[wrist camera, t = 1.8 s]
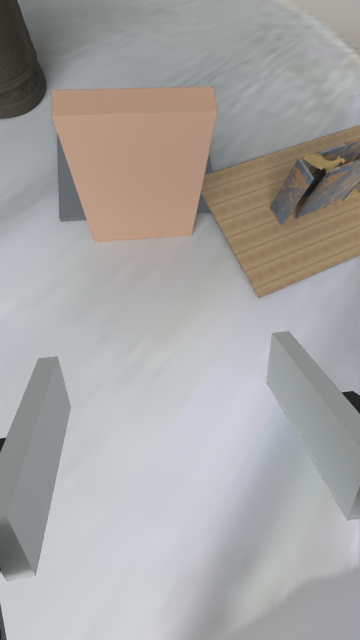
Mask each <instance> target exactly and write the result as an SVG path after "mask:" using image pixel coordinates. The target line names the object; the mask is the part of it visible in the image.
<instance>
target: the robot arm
mask: <svg viewBox="0 0 360 640" xmlns="http://www.w3.org/2000/svg"><path fill="white" fill-rule="evenodd" d="M267 384H268V386H269V388H270V389H271V391H272V393H273V394H274V396H275V398H276V400H277V401H278V403H279V405H280V406H281V408H282V410H283V412H284V413H285V415H286V417H287V418H288V420H289V422H290V424H291V425H292V427H293V429H294V430H295V432H296V434H297V435H298V437H299V439H300V441H301V442H302V444H303V446H304V447H305V449H306V451H307V453H308V454H309V456H310V458H311V459H312V461H313V463H314V465H315V466H316V468H317V470H318V471H319V473H320V475H321V476H322V478H323V480H324V482H325V483H326V485H327V487H328V488H329V490H330V492H331V494H332V495H333V497H334V499H335V500H336V502H337V504H338V506H339V507H340V509H341V511H342V512H343V514H344V516H345V518H346V519H347V521H348V520H354V519H360V395H358V394H357V393H355V392H353V391H350V392H342V393H341V392H340V390H339V389H338V388H337V387H336V386H335V385H334V383H333V382H332V381H331V380H330V379H329V378H328V376H327V375H326V374H325V373H324V372H323V371H322V370H321V368H320V367H319V366H318V365H317V364H316V363H315V361H314V360H313V359H312V358H311V357H310V356H309V354H308V353H307V352H306V351H305V350H304V349H303V347H302V346H301V345H300V344H299V343H298V342H297V340H296V339H295V338H294V337H293V336H292V335H291V333H290V332H289V331H288V332H279V333H272V339H271V348H270V356H269V365H268V374H267ZM70 408H71V406H70V402H69V398H68V394H67V391H66V387H65V383H64V379H63V375H62V371H61V367H60V363H59V360H58V357H48V358H39V359H38V361H37V363H36V366H35V368H34V371H33V373H32V376H31V378H30V380H29V383H28V385H27V388H26V390H25V393H24V395H23V398H22V400H21V403H20V405H19V408H18V410H17V413H16V415H15V418H14V420H13V423H12V425H11V427H10V430H9V432H8V435H7V437H6V438H1V439H0V571H1V572H2V574H3V576H4V578H5V579H6V581H10V580H15V579H21V578H27V577H32V576H36V572H37V567H38V562H39V557H40V553H41V548H42V543H43V538H44V533H45V529H46V524H47V519H48V514H49V509H50V505H51V500H52V495H53V490H54V485H55V480H56V476H57V471H58V466H59V461H60V456H61V452H62V447H63V442H64V437H65V432H66V428H67V423H68V418H69V413H70ZM0 640H7V639H6V633H5V628H4V622H3V617H2V611H1V605H0Z"/></svg>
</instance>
